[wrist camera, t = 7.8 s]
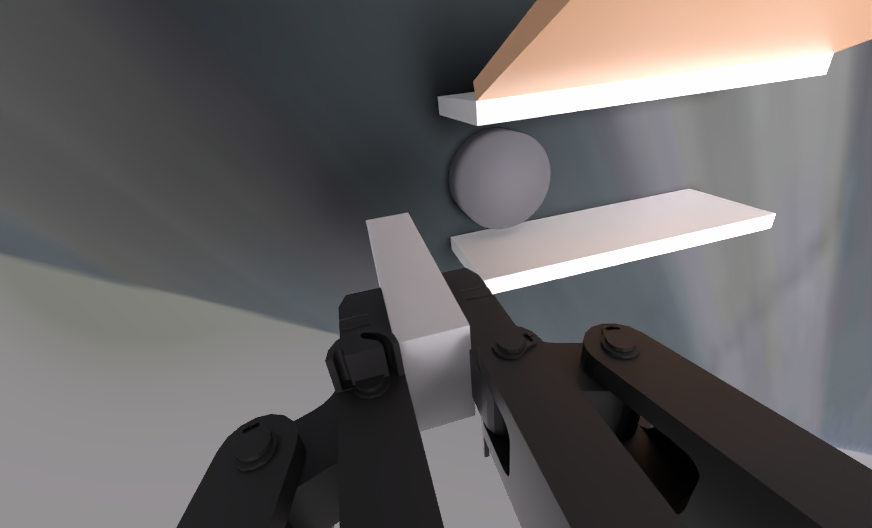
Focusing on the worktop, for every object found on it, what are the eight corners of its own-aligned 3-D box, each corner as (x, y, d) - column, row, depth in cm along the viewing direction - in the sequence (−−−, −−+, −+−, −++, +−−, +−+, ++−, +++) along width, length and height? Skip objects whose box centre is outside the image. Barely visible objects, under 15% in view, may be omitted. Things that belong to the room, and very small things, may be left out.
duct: (437, 96, 21) (476, 101, 15) (718, 59, 25) (833, 52, 19) (451, 249, 26) (485, 295, 20) (686, 200, 29) (770, 228, 24)
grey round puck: (438, 142, 23) (449, 149, 20) (526, 115, 23) (546, 119, 21) (458, 228, 25) (469, 241, 23) (535, 202, 26) (553, 212, 24)
